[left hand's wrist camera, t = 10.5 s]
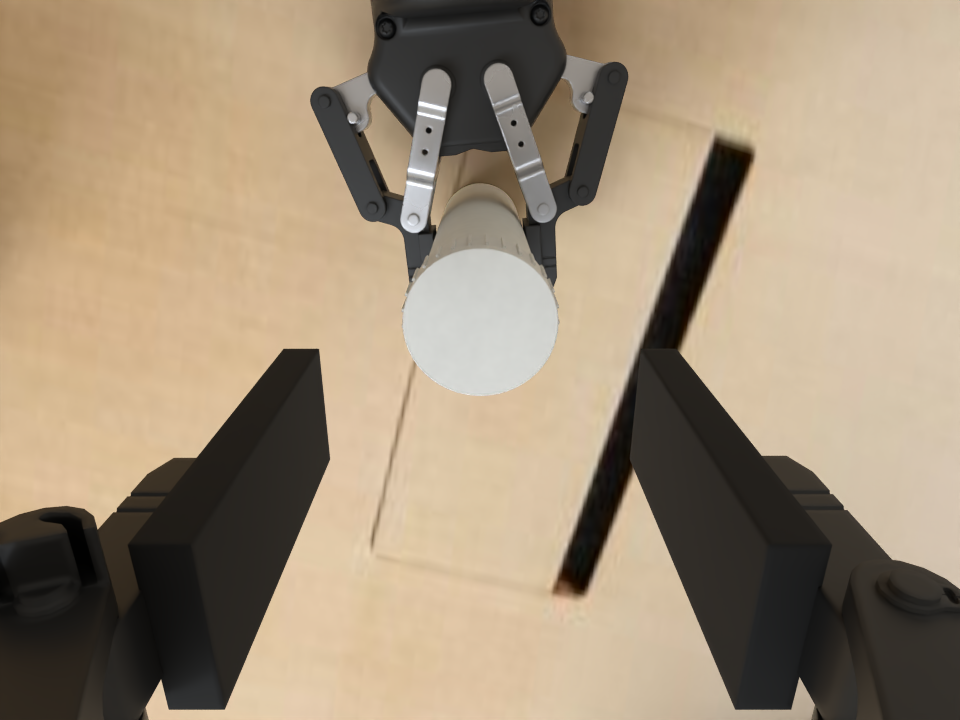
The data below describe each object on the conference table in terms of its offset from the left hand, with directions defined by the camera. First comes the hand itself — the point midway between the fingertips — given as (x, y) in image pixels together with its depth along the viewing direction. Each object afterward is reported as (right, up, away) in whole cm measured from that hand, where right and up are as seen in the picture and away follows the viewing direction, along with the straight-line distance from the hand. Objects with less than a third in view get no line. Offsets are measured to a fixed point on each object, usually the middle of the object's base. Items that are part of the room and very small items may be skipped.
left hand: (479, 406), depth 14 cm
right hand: (0, +4, +17) cm, 18 cm away
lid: (0, +2, +6) cm, 6 cm away
